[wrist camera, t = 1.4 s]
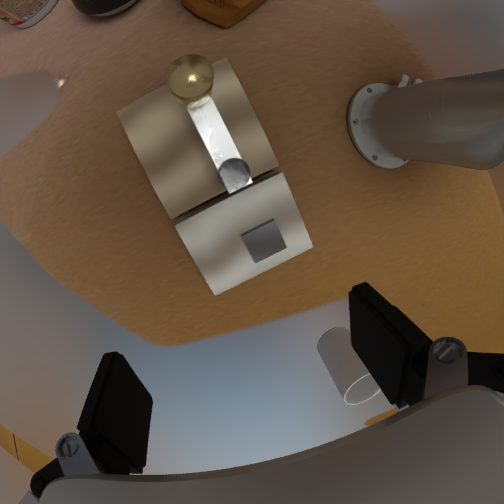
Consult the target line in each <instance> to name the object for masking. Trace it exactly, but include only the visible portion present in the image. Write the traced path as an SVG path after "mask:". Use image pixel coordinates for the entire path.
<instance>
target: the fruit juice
mask: <svg viewBox="0 0 504 504" xmlns="http://www.w3.org/2000/svg"><path fill="white" fill-rule="evenodd" d="M57 1H58V0H0V19H2V20H4V21H6V22H8V23H10V24H11V25H13V26H15V27H17V28H28V27H30V26H32V25H34V24H36V23H37V22H39V21H40V20H41V19H42V18H44V17H45V16H46V15H47V14H48V13H49V12H50V11H51V9H52V8H53V7H54V6H55V4H56V3H57Z"/></svg>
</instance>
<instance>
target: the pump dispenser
mask: <svg viewBox="0 0 504 504" xmlns="http://www.w3.org/2000/svg"><path fill="white" fill-rule="evenodd" d="M135 1H136V0H72V2H73V4H74V6H75V7H76V8H77V9H78V10H79V11H80V12H81V13H83V14H87V15H93V16H108V15H112V14H115V13H118V12H120V11H122V10H124V9H126V8H128V7H129V6H131V5H132V4H133V3H134V2H135Z"/></svg>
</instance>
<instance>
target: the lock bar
mask: <svg viewBox="0 0 504 504" xmlns="http://www.w3.org/2000/svg"><path fill="white" fill-rule="evenodd" d="M213 80H214V69H213V66H212V64H211V63H210V62H209V61H208V60H207V59H206V58H204V57H202V56H199V55H185V56H182V57H180V58H178V59H176V60H175V61H174V62H173V63H172V64H171V65H170V66H169V68H168V70H167V73H166V82H167V85H168V87H169V89H170V91H171V92H172V94H173V96H174V98H175V100H176V101H177V103H179V104H180V105H181V106H183V107H186V108H187V110H188V112H189V114H190V116H191V118H192V120H193V122H194V124H195V126H196V128H197V130H198V132H199V134H200V136H201V138H202V140H203V142H204V144H205V146H206V148H207V150H208V152H209V154H210V156H211V158H212V160H213V162H214V164H215V166H216V168H217V177H218V179H219V181H220V183H221V184H222V185H223V186H224V187H226V188H227V190H228V192H229V194H230V193H232V192H234V191H236V190H238V189H240V188H242V187H244V186H246V185H248V184H250V183H253V182H252V180H251V178H250V168H249V166H248V164H247V163H246V162H245V161H243V160H242V159H241V157H240V155H239V153H238V151H237V148H236V146H235V144H234V142H233V140H232V138H231V136H230V134H229V132H228V130H227V128H226V126H225V124H224V122H223V120H222V118H221V116H220V114H219V112H218V110H217V108H216V106H215V104H214V102H213V100H212V98H211V95H212V90H213Z"/></svg>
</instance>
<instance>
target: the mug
mask: <svg viewBox="0 0 504 504" xmlns="http://www.w3.org/2000/svg"><path fill="white" fill-rule="evenodd" d="M317 348H318V351H319V353H320V355H321V357H322V359H323V362H324V363H325V365H326V367H327V369H328V371H329V373H330V375H331V377H332V379H333V381H334V382H335V384H336V386H337V388H338V390H339V392H340V394H341V395H342V397H343V399H344V401H345V403H347V404H349V405H356V404H360V403H363V402H365V401H367V400H369V399H370V398H372V397H373V396H375V395H376V394H377V393H379V392H380V390H381V389H380V387H379V386H378V384H377V383H376V381H375V380H374V378H373V377H372V375H371V374H370V373H369V371H368V370H367V368H366V367H365V365H364V364H363V362H362V361H361V360H360V358H359V357H358V355H357V354H356V352H355V351H354V349H353V347H352V345H351V333H350V332H349V330H348V329H346V328H344V327H336V328H333V329H331V330H329V331H327V332H326V333H325V334H324V335H323V336H322V337H321V338H320V340H319V342H318V345H317Z"/></svg>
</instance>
